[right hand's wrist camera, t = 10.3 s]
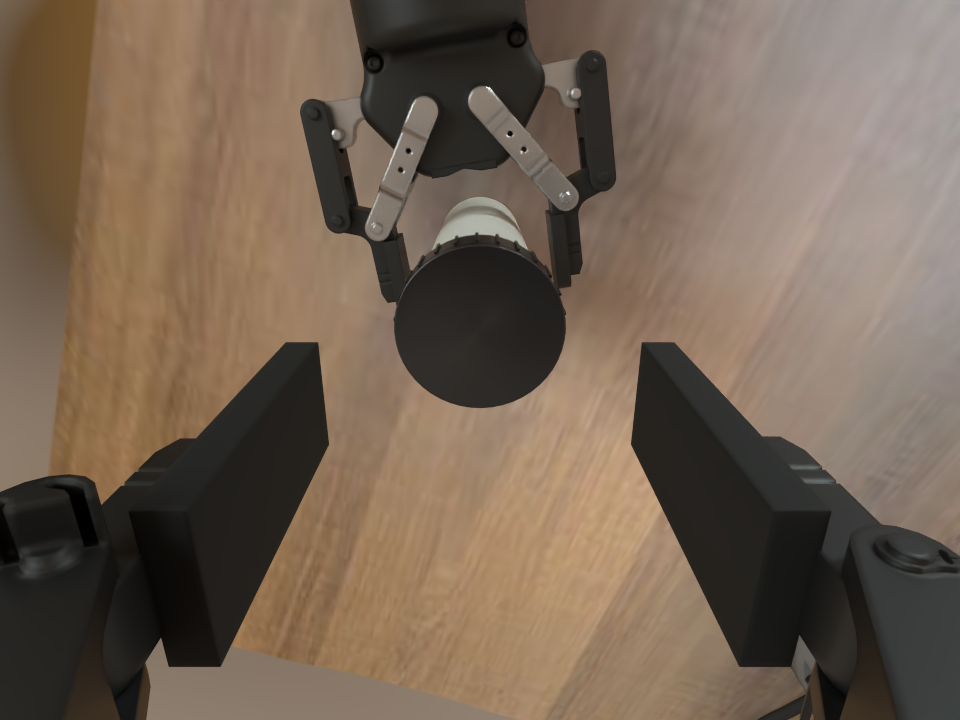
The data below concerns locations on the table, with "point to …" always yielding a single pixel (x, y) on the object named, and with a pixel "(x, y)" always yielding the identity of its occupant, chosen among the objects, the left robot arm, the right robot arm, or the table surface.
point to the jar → (480, 221)
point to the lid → (480, 321)
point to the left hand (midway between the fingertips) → (484, 295)
